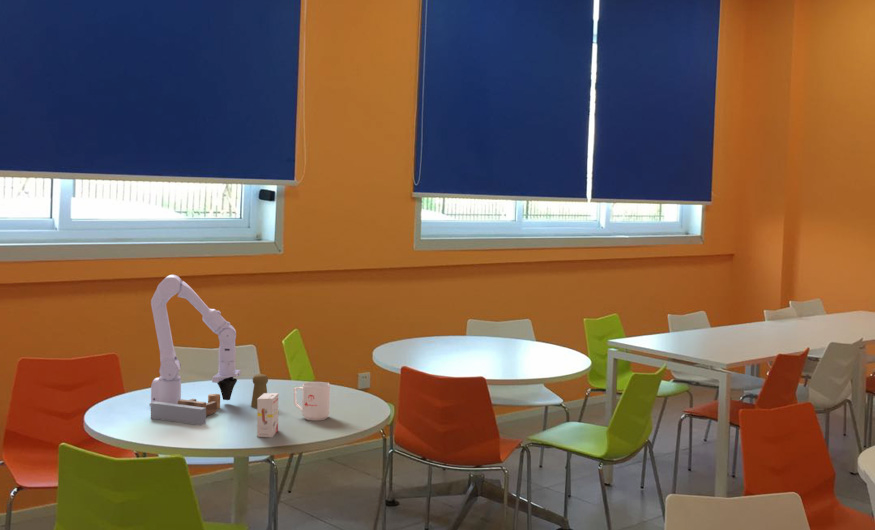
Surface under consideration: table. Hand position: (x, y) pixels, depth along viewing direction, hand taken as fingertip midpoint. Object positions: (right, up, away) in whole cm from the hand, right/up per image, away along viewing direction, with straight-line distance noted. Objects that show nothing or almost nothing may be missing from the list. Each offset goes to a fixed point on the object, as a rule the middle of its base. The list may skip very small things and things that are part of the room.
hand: (226, 399), depth 310 cm
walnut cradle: (-6, -2, -16) cm, 17 cm away
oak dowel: (-3, -2, -7) cm, 8 cm away
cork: (+12, -2, -2) cm, 12 cm away
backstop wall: (-9, -3, -25) cm, 27 cm away
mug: (+31, -4, -16) cm, 35 cm away
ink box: (+21, -5, -37) cm, 43 cm away
